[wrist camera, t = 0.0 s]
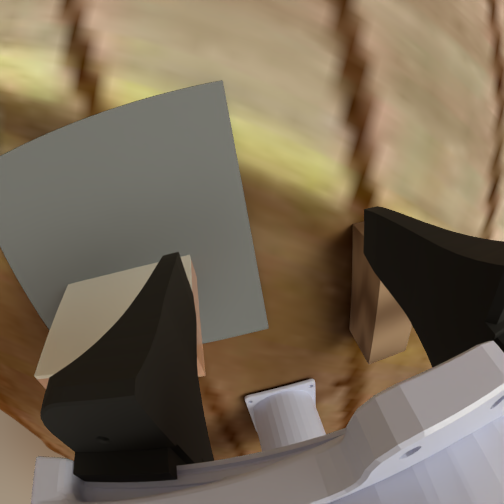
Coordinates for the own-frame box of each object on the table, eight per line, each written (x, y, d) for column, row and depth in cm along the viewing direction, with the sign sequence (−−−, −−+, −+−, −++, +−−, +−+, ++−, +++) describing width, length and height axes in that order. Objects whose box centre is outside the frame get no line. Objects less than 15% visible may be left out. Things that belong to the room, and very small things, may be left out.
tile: (196, 277, 24) (205, 375, 16) (79, 303, 23) (52, 395, 15) (189, 254, 23) (194, 351, 15) (68, 284, 22) (34, 376, 14)
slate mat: (267, 323, 28) (268, 328, 28) (76, 361, 27) (75, 365, 26) (221, 80, 17) (222, 80, 17) (-27, 170, 16) (-31, 173, 16)
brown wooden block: (382, 316, 31) (405, 350, 27) (348, 328, 31) (368, 364, 27) (393, 213, 25) (428, 243, 21) (351, 222, 25) (382, 256, 20)
